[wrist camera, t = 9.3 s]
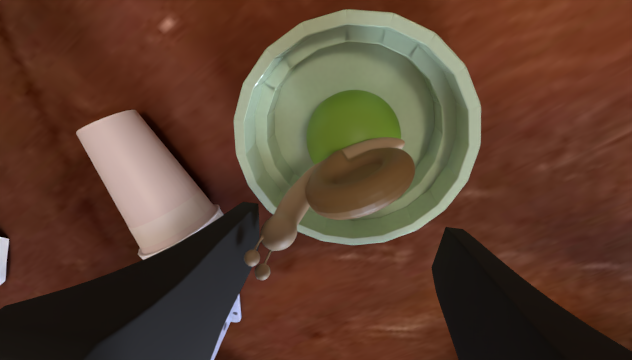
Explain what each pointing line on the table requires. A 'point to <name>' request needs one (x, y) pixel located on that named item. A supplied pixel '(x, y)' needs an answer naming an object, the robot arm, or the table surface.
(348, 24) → the bowl
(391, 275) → the table surface
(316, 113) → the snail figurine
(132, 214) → the smoothie
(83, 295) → the robot arm
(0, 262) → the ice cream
